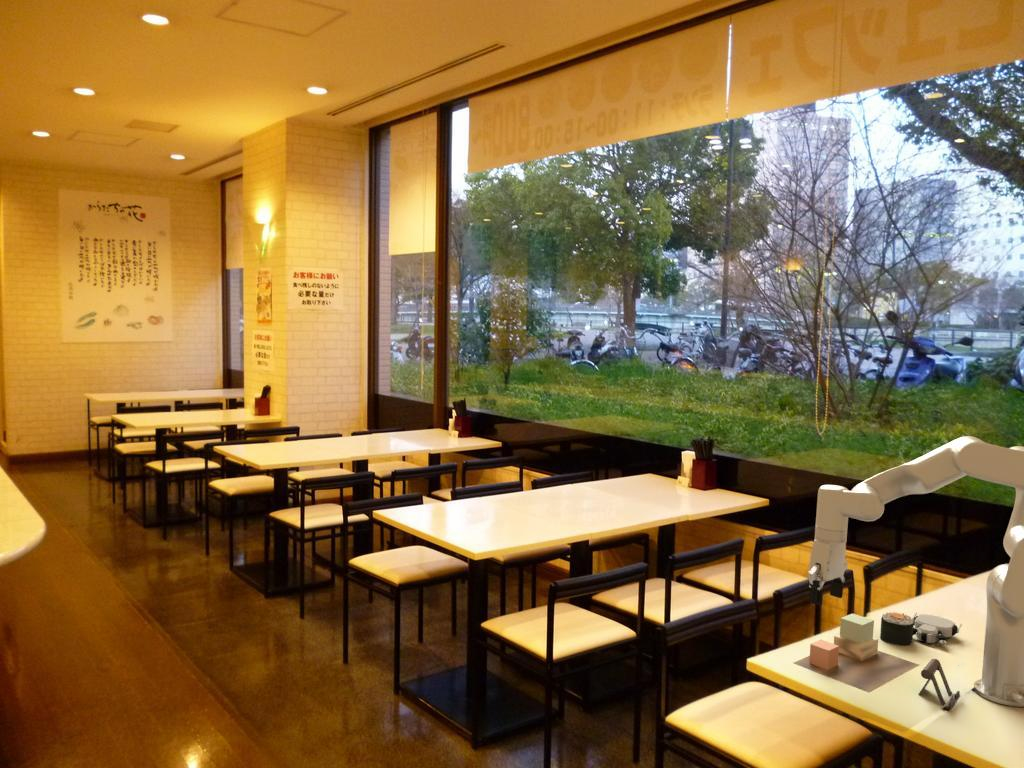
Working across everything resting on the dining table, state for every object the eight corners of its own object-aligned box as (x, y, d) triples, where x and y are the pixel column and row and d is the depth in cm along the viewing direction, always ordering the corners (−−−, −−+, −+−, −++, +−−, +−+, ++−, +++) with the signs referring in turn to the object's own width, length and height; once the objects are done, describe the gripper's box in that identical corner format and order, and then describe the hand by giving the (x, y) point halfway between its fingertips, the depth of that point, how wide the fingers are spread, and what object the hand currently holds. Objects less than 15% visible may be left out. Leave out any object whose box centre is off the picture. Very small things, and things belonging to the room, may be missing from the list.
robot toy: (947, 654, 219) (962, 635, 230) (947, 639, 219) (962, 620, 230) (899, 641, 228) (916, 624, 238) (899, 626, 227) (916, 609, 238)
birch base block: (877, 653, 214) (878, 638, 214) (862, 660, 209) (863, 645, 209) (848, 643, 220) (849, 629, 220) (833, 650, 215) (834, 635, 215)
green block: (872, 638, 214) (874, 620, 213) (861, 643, 210) (862, 625, 210) (851, 631, 218) (852, 613, 218) (839, 636, 215) (840, 618, 214)
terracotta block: (837, 664, 206) (839, 645, 206) (827, 669, 203) (828, 650, 203) (819, 658, 210) (820, 639, 210) (809, 662, 207) (810, 644, 206)
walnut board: (919, 668, 208) (919, 664, 208) (868, 696, 191) (868, 692, 191) (845, 642, 223) (845, 639, 223) (792, 666, 207) (793, 662, 207)
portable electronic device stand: (950, 713, 184) (953, 677, 183) (913, 701, 189) (915, 667, 189) (959, 700, 191) (962, 665, 190) (923, 689, 196) (925, 656, 195)
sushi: (877, 644, 223) (879, 616, 222) (883, 635, 230) (885, 607, 229) (909, 652, 218) (911, 623, 217) (915, 642, 225) (917, 614, 224)
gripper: (834, 526, 212) (830, 589, 214) (798, 535, 201) (793, 602, 203) (862, 533, 206) (857, 598, 208) (826, 543, 195) (821, 611, 197)
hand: (825, 600), depth 205 cm, fingers open, 9 cm apart
